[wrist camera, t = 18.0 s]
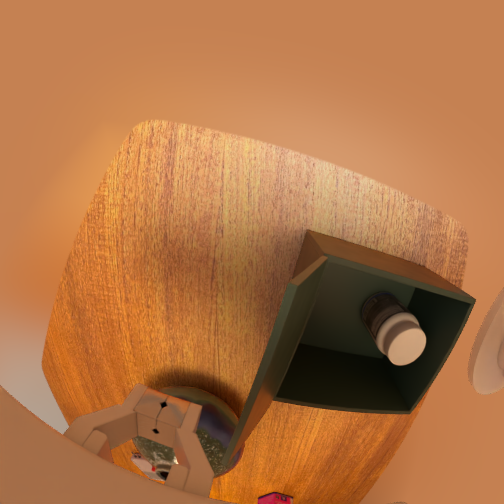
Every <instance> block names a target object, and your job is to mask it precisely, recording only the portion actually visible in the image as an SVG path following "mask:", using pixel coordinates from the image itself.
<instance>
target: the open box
mask: <svg viewBox="0 0 504 504" xmlns="http://www.w3.org/2000/svg"><path fill="white" fill-rule="evenodd" d="M321 256H326V257H328V260H327V263H326V266H325V269H324V272H323V275H322V278H321V281H320V284H319V287H318V289H317V292H316V295H315V298H314V301H313V303H312V306H311V309H310V311H309V314H308V317H307V319H306V322H305V324H304V327H303V330H302V332H301V335H300V337H299V340H298V342H297V345H296V347H295V350H294V352H293V354H292V357H291V359H290V362H289V364H288V366H287V369H286V371H285V373H284V375H283V378H282V380H281V382H280V385H279V387H278V389H277V391H276V393H275V396H274V398H273V400H274V401H279V402H284V403H290V404H295V405H301V406H308V407H314V408H322V409H329V410H338V411H348V412H360V413H376V414H411V412H412V411H413V410H414V408H415V407H416V406H417V404H418V403H419V402H420V400H421V399H422V397H423V396H424V395H425V393H426V392H427V390H428V389H429V387H430V386H431V384H432V383H433V381H434V379H435V378H436V376H437V375H438V373H439V372H440V370H441V368H442V367H443V365H444V363H445V362H446V360H447V358H448V356H449V355H450V353H451V351H452V349H453V348H454V346H455V344H456V342H457V340H458V338H459V336H460V334H461V332H462V330H463V328H464V326H465V324H466V322H467V320H468V318H469V315H470V313H471V311H472V308H473V306H474V304H475V302H476V299H474V298H473V297H472V296H470V295H469V294H467V293H465V292H464V291H462V290H461V289H459V288H458V287H456V286H455V285H453V284H452V283H450V282H449V281H447V280H445V279H444V278H442V277H441V276H439V275H437V274H436V273H434V272H433V271H431V270H429V269H428V268H426V267H424V266H421V265H418V264H416V263H413V262H410V261H407V260H404V259H401V258H398V257H395V256H392V255H389V254H386V253H382V252H379V251H376V250H373V249H370V248H367V247H364V246H360V245H357V244H354V243H351V242H348V241H344V240H341V239H338V238H334V237H331V236H328V235H324V234H321V233H318V232H314V231H311V230H307V231H306V234H305V238H304V241H303V244H302V248H301V251H300V254H299V257H298V261H297V264H296V267H295V270H294V273H293V277H292V279H294V278H295V277H296V276H297V275H299V274H300V273H301V272H303V271H304V270H305V269H306V268H308V267H309V266H310V265H311V264H313V263H314V262H315V261H316V260H318V259H319V258H320V257H321ZM379 292H388V293H391V294H393V295H394V296H395V297H396V298H397V299H398V300H399V301H400V302H401V303H402V304H403V305H404V306H405V307H406V308H407V309H408V310H409V311H410V312H411V313H412V314H413V315H414V316H415V317H416V319H417V320H418V323H419V327H420V328H421V329H422V331H423V332H424V333H425V336H426V345H425V348H424V350H423V352H422V353H421V355H420V356H419V357H418V358H417V359H416V360H414V361H413V362H411V363H409V364H406V365H395V364H393V363H392V362H391V361H390V360H389V359H388V357H387V355H385V354H383V353H382V352H381V351H380V350H379V349H378V347H377V345H376V343H375V342H374V340H373V339H372V337H371V335H370V333H369V332H368V330H367V328H366V326H365V325H364V323H363V320H362V308H363V306H364V304H365V302H366V301H367V300H368V299H369V298H370V297H371V296H372V295H374V294H376V293H379Z"/></svg>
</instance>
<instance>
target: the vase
mask: <svg viewBox="0 0 504 504" xmlns="http://www.w3.org/2000/svg"><path fill="white" fill-rule="evenodd" d="M157 391H159V392H162V393H164V394H167V395H170V396H173V397H176V398H179V399H182V400H185V401H189V402H191V403H194V404H198V405H201V406H202V410H201V414H200V419H199V423H198V426H197V430H196V434H197V436H198V439H199V441H200V444H201V446H202V448H203V450H204V453H205V455H206V457H207V459H208V462H209V464H210V466H211V468H212V470H213V472H214V478H217V477H220V476H222V475H224V474H226V473H228V472H229V471H231V470H232V469H233V468H234V467H235V466H236V465H237V464H238V462H239V461H240V459H241V457H242V455H243V451H244V447H245V442H244V444H243V445H242V446H241V448H240V449H239V450H238V452H237V453H236V454H235V456H234V457H233V458H232V459H231V461H230V462H229V463H228V465H227V466H226V465H224V464H222V463H221V462H222V460H223V458H224V455H225V453H226V450H227V448H228V446H229V443H230V441H231V438H232V436H233V434H234V431H235V429H236V426H237V424H238V421H239V418H238V416H237V415H236V413H235V412H234V411H233V410H232V408H231V407H230V406H229V405H228V404H227V403H226V402H224V401H223V400H222V399H220V398H219V397H217V396H216V395H214V394H212V393H210V392H208V391H205V390H203V389H200V388H196V387H192V386H184V385H174V386H167V387H163V388H159V389H157ZM132 441H133V443H134V445H135V447H136V448H137V450H138V451H139V453H140V454H141V455H142V456H143V457H144V458H145V459H146V460H147V461H148V462H149V463H150V464H151V465H152V466H153V467H154V468H156V469H155V473H156V475H157V476H158V477H159V478H161V479H162V480H164V481H166V479H167V476H168V474H169V471H170V469H171V467H172V465H174V464H178V463H177V459H176V456H175V453H174V449H173V448H170V447H168V446H165V445H163V444H160V443H158V442H155V441H152V440H150V439H147V438H144V437H142V436H139V435H137V436H136V437H135V438H133V439H132ZM214 478H213V479H214Z"/></svg>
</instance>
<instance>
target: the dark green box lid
mask: <svg viewBox="0 0 504 504" xmlns="http://www.w3.org/2000/svg"><path fill="white" fill-rule="evenodd" d="M327 260H328V257H326V256H321V257H320V258H319V259H318V260H316V261H315V262H314V263H313V264H311V265H310V266H309V267H308V268H306V269H305V270H304V271H303V272H301V273H300V274H299V275H297V276H296V277H295V278H294V279H292V280H291V281H290V282H289V283H288V285H287V288H286V291H285V294H284V297H283V300H282V303H281V306H280V309H279V312H278V315H277V318H276V321H275V324H274V327H273V330H272V332H271V335H270V338H269V341H268V344H267V347H266V350H265V352H264V355H263V358H262V361H261V363H260V366H259V369H258V372H257V374H256V377H255V380H254V382H253V385H252V388H251V390H250V393H249V396H248V398H247V401H246V403H245V406H244V409H243V411H242V414H241V416H240V419H239V421H238V424H237V426H236V429H235V431H234V434H233V436H232V438H231V441H230V443H229V446H228V448H227V450H226V453H225V455H224V458H223V460H222V462H221V463H222V464H224V465H226V466H227V465H228V463H229V462H230V461H231V459H232V458H233V457H234V456H235V454H236V453H237V452H238V450H239V449H240V448H241V446H242V445H243V444H244V442H245V441H246V439H247V438H248V437H249V435H250V434H251V432H252V431H253V430H254V428H255V427H256V425H257V424H258V422H259V421H260V419H261V418H262V417H263V415H264V414H265V412H266V411H267V409H268V408H269V406H270V404H271V402H272V400H273V398H274V396H275V393H276V391H277V389H278V387H279V385H280V382H281V380H282V378H283V375H284V373H285V371H286V369H287V366H288V364H289V362H290V359H291V357H292V354H293V352H294V350H295V347H296V345H297V342H298V340H299V337H300V335H301V332H302V330H303V327H304V324H305V322H306V319H307V317H308V314H309V311H310V309H311V306H312V303H313V301H314V298H315V295H316V292H317V289H318V287H319V284H320V281H321V278H322V275H323V272H324V269H325V266H326V263H327Z"/></svg>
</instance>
